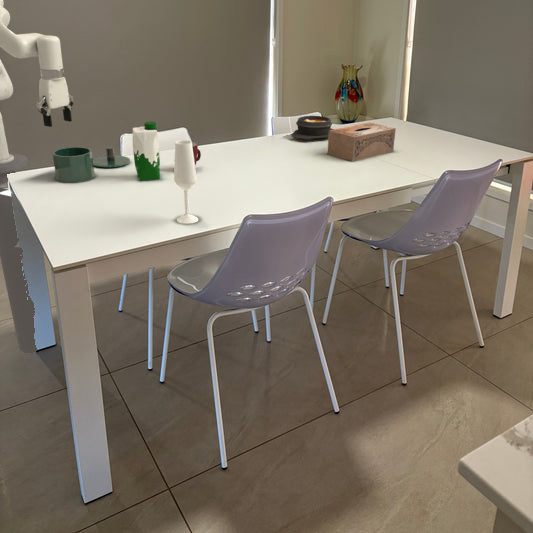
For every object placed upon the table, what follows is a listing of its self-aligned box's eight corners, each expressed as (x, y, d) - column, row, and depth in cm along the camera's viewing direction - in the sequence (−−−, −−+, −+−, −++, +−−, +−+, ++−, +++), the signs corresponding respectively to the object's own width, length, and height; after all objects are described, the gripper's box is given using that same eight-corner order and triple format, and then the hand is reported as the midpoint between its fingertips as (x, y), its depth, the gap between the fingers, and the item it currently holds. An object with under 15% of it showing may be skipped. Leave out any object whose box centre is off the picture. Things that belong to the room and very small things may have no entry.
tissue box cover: (352, 161, 240) (354, 137, 235) (327, 154, 250) (328, 130, 245) (393, 151, 255) (395, 128, 250) (367, 144, 265) (369, 122, 260)
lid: (84, 165, 231) (82, 149, 228) (108, 156, 243) (107, 141, 240) (114, 170, 225) (112, 154, 222) (137, 161, 237) (136, 145, 234)
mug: (191, 164, 234) (189, 139, 229) (206, 167, 230) (206, 142, 225) (173, 170, 226) (171, 145, 221) (189, 174, 222) (188, 148, 217)
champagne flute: (199, 215, 184) (196, 139, 173) (197, 223, 178) (194, 145, 167) (177, 215, 183) (173, 139, 173) (175, 223, 177) (170, 145, 167)
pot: (48, 179, 215) (44, 153, 211) (74, 169, 226) (71, 145, 222) (77, 184, 209) (73, 158, 205) (102, 174, 220) (99, 149, 216)
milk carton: (162, 179, 215) (158, 125, 207) (137, 182, 213) (132, 126, 204) (158, 173, 223) (155, 120, 214) (134, 175, 220) (129, 121, 212)
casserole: (313, 145, 263) (314, 126, 259) (281, 138, 274) (281, 120, 270) (345, 135, 280) (346, 117, 276) (313, 129, 291) (314, 112, 287)
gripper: (62, 69, 212) (67, 117, 219) (24, 76, 198) (32, 126, 205) (78, 72, 209) (83, 120, 217) (41, 78, 195) (48, 129, 203)
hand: (58, 123), depth 211 cm, fingers open, 9 cm apart
